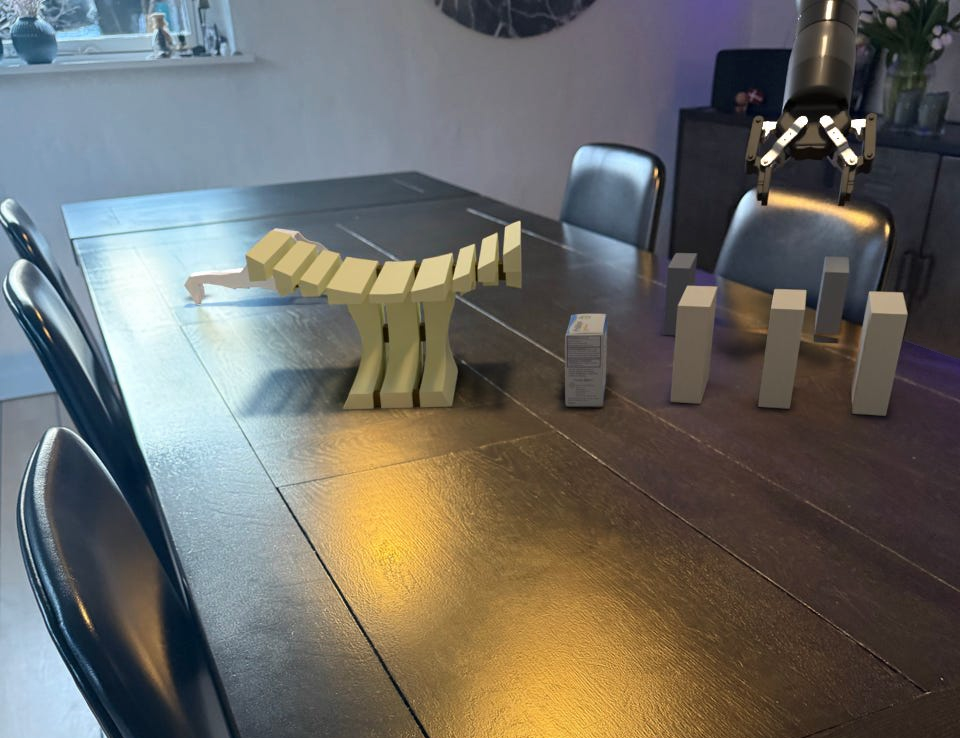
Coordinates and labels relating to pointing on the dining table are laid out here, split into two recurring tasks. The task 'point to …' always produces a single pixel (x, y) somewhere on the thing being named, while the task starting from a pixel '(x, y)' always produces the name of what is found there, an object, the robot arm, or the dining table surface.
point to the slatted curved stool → (392, 309)
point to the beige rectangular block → (782, 348)
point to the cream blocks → (871, 364)
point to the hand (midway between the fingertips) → (802, 201)
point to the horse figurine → (236, 274)
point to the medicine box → (585, 360)
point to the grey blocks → (827, 307)
